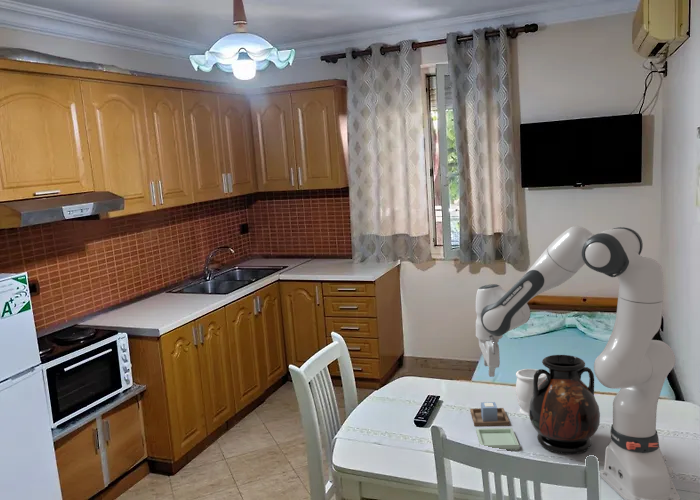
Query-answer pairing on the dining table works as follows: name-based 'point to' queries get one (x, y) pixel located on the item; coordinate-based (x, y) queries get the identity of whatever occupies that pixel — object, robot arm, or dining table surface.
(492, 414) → the letter cube
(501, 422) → the walnut tray
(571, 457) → the dining table surface
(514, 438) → the sage tray
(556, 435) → the amphora vase
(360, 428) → the dining table surface
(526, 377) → the jar
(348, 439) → the dining table surface
